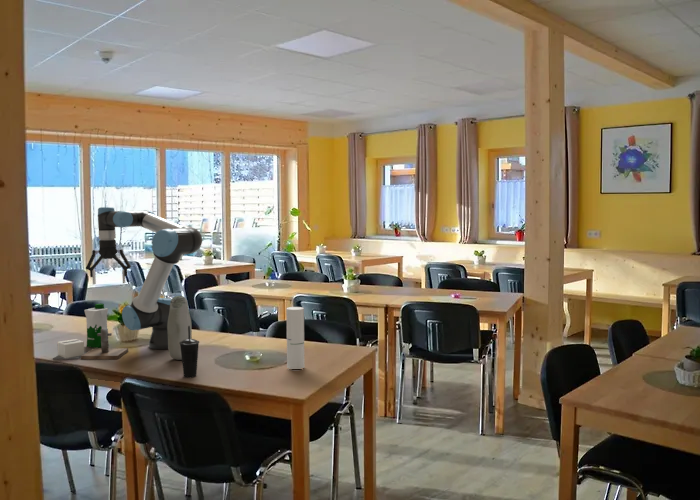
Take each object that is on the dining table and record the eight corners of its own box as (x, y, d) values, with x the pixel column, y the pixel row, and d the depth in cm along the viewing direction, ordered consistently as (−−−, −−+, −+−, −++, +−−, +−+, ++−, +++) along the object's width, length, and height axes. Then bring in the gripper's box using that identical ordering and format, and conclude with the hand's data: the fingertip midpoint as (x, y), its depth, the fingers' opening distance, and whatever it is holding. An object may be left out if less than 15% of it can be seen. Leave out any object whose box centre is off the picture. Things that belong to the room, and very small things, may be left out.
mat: (88, 353, 291) (88, 352, 291) (78, 359, 280) (78, 357, 280) (64, 353, 291) (64, 352, 291) (53, 359, 280) (53, 358, 280)
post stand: (128, 351, 294) (127, 325, 293) (117, 359, 280) (116, 332, 279) (93, 351, 293) (92, 326, 293) (81, 359, 280) (80, 332, 279)
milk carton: (111, 344, 308) (110, 304, 306) (96, 348, 299) (95, 306, 298) (98, 343, 311) (96, 302, 310) (83, 347, 303) (81, 305, 302)
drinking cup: (201, 373, 256) (200, 324, 254) (197, 378, 248) (196, 328, 247) (182, 373, 255) (181, 324, 254) (178, 378, 248) (176, 328, 246)
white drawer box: (76, 351, 291) (76, 338, 291) (84, 354, 285) (83, 341, 285) (57, 355, 285) (57, 341, 285) (65, 358, 280) (64, 344, 279)
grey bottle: (167, 357, 281) (165, 295, 279) (191, 355, 285) (189, 293, 283) (169, 363, 272) (167, 298, 270) (193, 360, 276) (192, 296, 274)
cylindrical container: (295, 364, 268) (294, 306, 266) (308, 367, 263) (307, 308, 261) (283, 368, 262) (282, 308, 260) (296, 371, 258) (295, 310, 256)
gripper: (135, 238, 309) (137, 281, 311) (81, 239, 305) (83, 283, 307) (133, 239, 302) (135, 283, 303) (77, 240, 298) (79, 285, 299)
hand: (109, 283), depth 305 cm, fingers open, 13 cm apart
